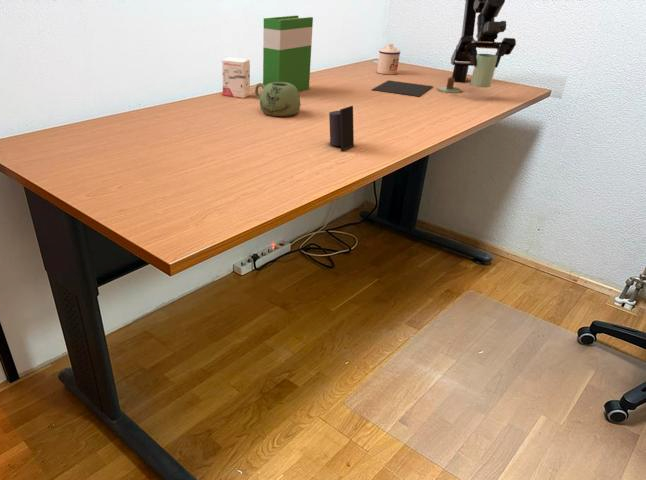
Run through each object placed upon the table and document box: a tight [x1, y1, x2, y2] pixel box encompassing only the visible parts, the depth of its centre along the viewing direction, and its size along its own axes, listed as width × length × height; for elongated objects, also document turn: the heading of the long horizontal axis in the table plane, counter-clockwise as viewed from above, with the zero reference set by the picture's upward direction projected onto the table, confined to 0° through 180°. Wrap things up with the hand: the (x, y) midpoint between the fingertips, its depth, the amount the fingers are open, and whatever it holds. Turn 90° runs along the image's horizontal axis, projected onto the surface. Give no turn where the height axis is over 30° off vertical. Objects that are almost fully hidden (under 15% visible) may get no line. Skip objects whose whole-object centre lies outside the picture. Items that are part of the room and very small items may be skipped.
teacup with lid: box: [376, 43, 401, 76], centre depth 217 cm, size 12×9×12 cm
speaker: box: [328, 105, 355, 152], centre depth 130 cm, size 8×6×10 cm
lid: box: [437, 77, 462, 94], centre depth 192 cm, size 9×9×4 cm
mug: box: [254, 82, 301, 117], centre depth 156 cm, size 16×13×9 cm
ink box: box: [221, 56, 251, 99], centre depth 172 cm, size 9×5×12 cm, turn 68°
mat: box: [371, 80, 433, 98], centre depth 193 cm, size 20×18×1 cm
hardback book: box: [262, 15, 314, 92], centre depth 178 cm, size 18×7×24 cm, turn 140°
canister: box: [470, 53, 498, 89], centre depth 177 cm, size 7×7×10 cm
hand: (485, 66), depth 175 cm, fingers closed on canister, 7 cm apart
